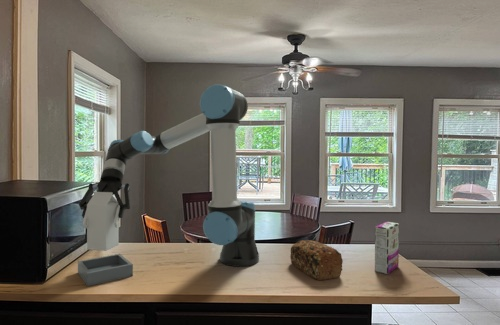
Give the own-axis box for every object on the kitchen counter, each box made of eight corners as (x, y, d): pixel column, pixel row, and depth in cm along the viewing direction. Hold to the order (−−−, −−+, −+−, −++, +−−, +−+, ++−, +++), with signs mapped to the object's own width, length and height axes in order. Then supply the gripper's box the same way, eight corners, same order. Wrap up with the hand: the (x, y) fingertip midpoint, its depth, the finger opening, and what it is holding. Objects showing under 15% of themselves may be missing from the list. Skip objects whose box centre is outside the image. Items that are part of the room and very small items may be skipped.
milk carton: (105, 251, 108) (105, 193, 107) (86, 249, 109) (86, 192, 108) (118, 245, 115) (118, 191, 114) (100, 243, 116) (100, 190, 115)
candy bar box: (385, 263, 125) (386, 221, 125) (398, 266, 122) (400, 223, 121) (373, 271, 117) (374, 225, 117) (387, 275, 114) (389, 228, 113)
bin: (132, 275, 111) (132, 264, 110) (87, 286, 102) (87, 273, 102) (119, 264, 122) (119, 253, 121) (77, 272, 113) (77, 261, 113)
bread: (343, 278, 111) (343, 249, 111) (316, 282, 107) (316, 252, 107) (313, 260, 128) (313, 235, 128) (288, 263, 124) (289, 237, 124)
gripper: (144, 180, 128) (136, 230, 112) (84, 180, 124) (68, 232, 109) (141, 167, 122) (132, 218, 107) (79, 166, 119) (61, 219, 104)
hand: (100, 225), depth 108 cm, fingers closed on milk carton, 9 cm apart
